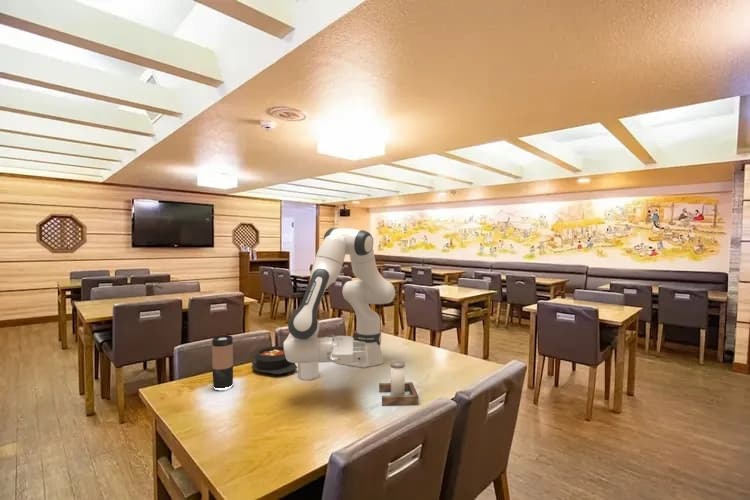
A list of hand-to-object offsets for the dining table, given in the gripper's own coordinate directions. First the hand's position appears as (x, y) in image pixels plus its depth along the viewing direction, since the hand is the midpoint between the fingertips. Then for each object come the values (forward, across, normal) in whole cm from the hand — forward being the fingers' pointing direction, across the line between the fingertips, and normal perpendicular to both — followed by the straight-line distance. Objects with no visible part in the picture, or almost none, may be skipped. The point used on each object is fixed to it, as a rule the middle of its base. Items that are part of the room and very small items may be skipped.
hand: (365, 348), depth 138 cm
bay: (+12, -1, +19) cm, 22 cm away
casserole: (-40, +33, +20) cm, 55 cm away
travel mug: (-56, +13, +18) cm, 61 cm away
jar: (-24, +22, +19) cm, 38 cm away
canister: (+12, -1, +19) cm, 22 cm away
